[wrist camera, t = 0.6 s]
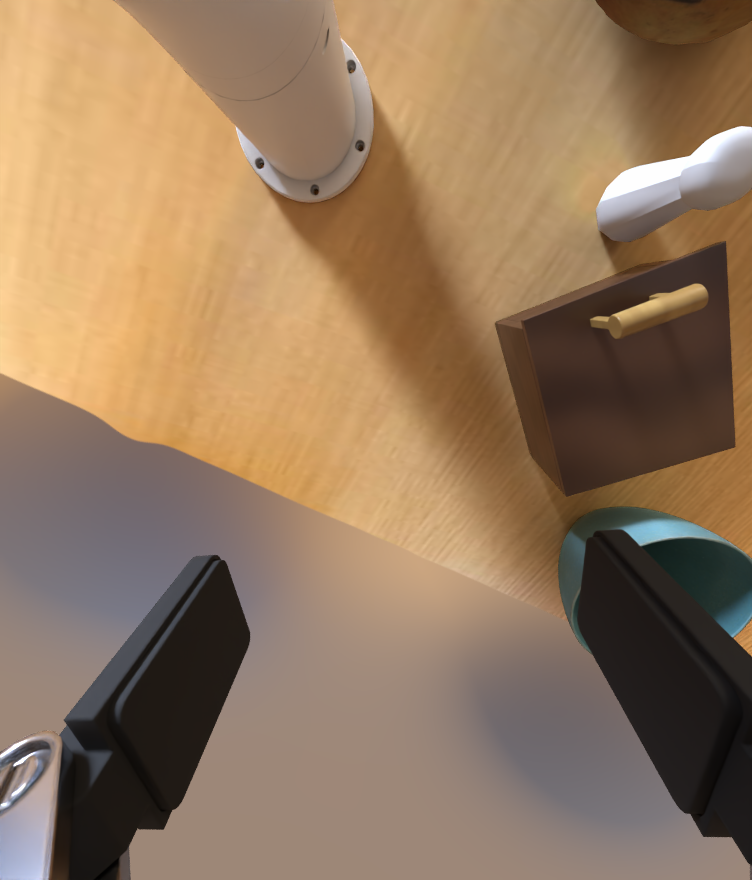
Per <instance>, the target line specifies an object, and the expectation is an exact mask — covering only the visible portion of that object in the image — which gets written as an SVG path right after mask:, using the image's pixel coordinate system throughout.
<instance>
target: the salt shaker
mask: <svg viewBox="0 0 752 880" xmlns="http://www.w3.org/2000/svg"><path fill="white" fill-rule="evenodd" d="M751 189H752V127H744V126H740V127H736V128H733V129H730V130H727V131H725V132H722V133H720V134H717V135H715V136H713V137H711V138H710V139H708V140H706V141H705V142H704V143H703V144H702V145H701V146H700V147H699V148H698V149H697V150H696V151H695V152H694V153H693V154H692V155H691V156H688V157H683V158H677V159H672V160H667V161H662V162H657V163H651V164H646V165H641V166H637V167H635V168H632V169H630V170H627V171H624V172H623V173H622V174H620V175H619V176H618V177H617V178H616V179H615V180H614V181H613V182H612V183H611V184H610V185H609V186H608V187H607V189H606V191H605V193H604V195H603V197H602V198H601V200H600V202H599V204H598V207H597V209H596V212H597V221H598V230H600V231H601V232H603V233H604V234H605V235H606V236H608V237H609V238H610V239H611V240H614V241H622V242H631V241H633V240H636V239H639V238H641V237H644V236H646V235H648V234H649V233H651V232H653V231H654V230H656V229H658V228H660V227H661V226H663V225H665V224H667V223H668V222H670V221H672V220H673V219H675V218H677V217H679V216H680V215H682V214H684V213H686V212H687V211H689V210H691V209H699V210H706V211H709V210H714V209H717V208H720V207H722V206H725V205H728V204H730V203H733V202H735V201H737V200H739V199H740V198H742V197H743V196H744V195H745V194H747V193H748V192H749V191H750V190H751Z"/></svg>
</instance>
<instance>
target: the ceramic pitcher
mask: <svg viewBox="0 0 752 880" xmlns="http://www.w3.org/2000/svg"><path fill="white" fill-rule="evenodd" d="M596 2H597V4H598V5H599V6H600V7H601V8H602V9H603V10H604V12H605V13H606V15H607V16H608V17H610V18H611V19H612V20H613V21H614V22H615V23H616V24H618V25H619V26H621V27H622V28H624V29H626V30H627V31H629V32H631V33H633V34H635V35H637V36H639V37H641V38H643V39H645V40H650V41H655V42H660V43H666V44H674V45H678V44H687V43H705V42H709V41H711V40H714V39H716V38H718V37H720V36H722V35H725V34H727V33H729V32H731V31H733V30H735V29H738V28H740V27H742V26H744V25H746V24H748V23H749V22H751V21H752V0H596Z"/></svg>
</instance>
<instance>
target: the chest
mask: <svg viewBox="0 0 752 880" xmlns="http://www.w3.org/2000/svg"><path fill="white" fill-rule="evenodd" d="M669 261H672V260H668V261H661V262H654V263H647V264H641V265H638V266H636V267H633V268H631V269H628V270H625V271H623V272H620V273H618V274H615V275H613V276H610V277H608V278H605V279H603V280H600V281H598V282H595V283H593V284H590V285H588V286H585V287H583V288H580V289H578V290H575V291H573V292H570V293H568V294H565V295H563V296H560V297H558V298H555V299H553V300H550V301H548V302H545V303H543V304H540V305H538V306H535V307H532V308H530V309H527V310H525V311H522V312H520V313H517V314H515V315H512V316H510V317H507V318H505V319H502V320H500V321H497V322H495V326H496V329H497V333H498V337H499V340H500V344H501V348H502V352H503V355H504V359H505V363H506V366H507V370H508V374H509V377H510V381H511V385H512V388H513V392H514V396H515V400H516V403H517V407H518V411H519V414H520V418H521V422H522V425H523V429H524V433H525V436H526V440H527V444H528V447H529V451H530V455H531V456H532V458H533V459H534V460H535V461H536V462H537V463H538V465H539V466H540V467H541V468H542V469H543V470H544V472H545V473H546V474H547V475H548V476H549V477H550V478H551V480H552V481H553V482H554V483H555V484H556V485H557V487H558V488H559V489H560V490H561V491H562V487H561V483H560V479H559V475H558V471H557V467H556V463H555V459H554V455H553V451H552V447H551V443H550V438H549V434H548V430H547V426H546V422H545V418H544V414H543V410H542V406H541V402H540V398H539V394H538V390H537V386H536V382H535V377H534V373H533V369H532V365H531V361H530V357H529V353H528V349H527V345H526V341H525V337H524V333H523V329H522V325H521V320H522V319H524V318H527V317H529V316H532V315H534V314H537V313H540V312H542V311H545V310H547V309H550V308H552V307H555V306H557V305H560V304H562V303H565V302H567V301H570V300H573V299H575V298H578V297H580V296H583V295H585V294H588V293H590V292H593V291H595V290H598V289H601V288H603V287H606V286H608V285H611V284H613V283H616V282H618V281H621V280H623V279H626V278H628V277H631V276H634V275H636V274H639V273H641V272H644V271H646V270H649V269H651V268H654V267H656V266H659V265H661V264H664V263H667V262H669ZM562 492H563V491H562Z"/></svg>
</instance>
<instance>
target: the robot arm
mask: <svg viewBox="0 0 752 880" xmlns="http://www.w3.org/2000/svg"><path fill="white" fill-rule="evenodd" d="M113 1H115V2H116V3H117V4H118V5H119V6H121V7H122V8H123V9H124V10H125V11H127V12H128V13H129V14H130V15H131V16H132V17H133V18H134V19H135V20H136V21H137V22H138V23H139V24H140V25H141V26H143V27H144V28H145V29H146V30H147V31H148V32H149V33H150V34H151V35H152V36H153V37H154V39H155V40H156V41H157V42H158V43H159V44H160V45H161V46H162V47H163V48H164V49H165V50H166V51H167V52H168V53H169V54H170V55H171V56H172V57H173V58H174V60H175V61H176V62H177V63H178V64H179V65H180V66H181V67H182V68H183V69H184V71H185V72H186V73H187V74H188V75H189V76H190V77H191V78H192V79H193V81H194V82H195V83H196V84H197V85H198V86H199V87H200V88H201V89H202V90H203V91H204V92H205V93H206V95H207V96H208V97H209V98H210V99H211V100H212V101H213V102H214V103H215V104H216V105H217V106H218V108H219V109H220V110H221V111H222V112H223V113H224V114H225V115H226V116H227V117H228V118H229V119H230V120H231V122H232V123H233V124H234V125H235V126H236V130H237V133H238V137H239V140H240V144H241V147H242V149H243V151H244V153H245V155H246V158H247V160H248V161H249V163H250V164H251V166H252V167H253V169H254V170H255V172H256V173H257V174H258V175H259V177H260V178H261V179H262V180H263V181H264V182H265V183H266V184H267V185H268V186H270V187H271V188H272V189H273V190H274V191H276V192H278V193H279V194H281V195H283V196H284V197H286V198H289V199H292V200H295V201H298V202H307V203H312V202H321V201H324V200H327V199H330V198H333V197H334V196H336V195H338V194H339V193H341V192H343V191H344V190H345V189H346V188H347V187H348V186H349V185H350V184H351V183H352V182H353V181H354V180H355V178H356V177H357V176H358V174H359V173H360V171H361V170H362V168H363V166H364V164H365V161H366V159H367V157H368V154H369V150H370V147H371V143H372V137H373V129H374V110H373V103H372V95H371V91H370V87H369V83H368V79H367V77H366V75H365V72H364V70H363V68H362V66H361V63H360V62H359V60H358V59H357V57H356V56H355V54H354V52H353V51H352V49H351V48H350V47H349V46H348V45H347V44H346V43H345V42H344V41H343V40H342V39H341V35H340V30H339V26H338V21H337V16H336V11H335V6H334V2H333V0H113ZM350 70H354V71H355V72H354V73H349V72H350ZM359 147H363V151H361V152H359V151H358V148H359ZM261 164H264V167H263V168H262V169H261ZM315 190H318V191H319V193H318V194H317V195H315V194H314V191H315ZM577 621H578V626H579V630H580V632H581V634H582V636H583V638H584V640H585V642H586V644H587V645H588V647H589V649H590V651H591V653H592V654H593V656H594V658H595V660H596V662H597V663H598V665H599V667H600V669H601V670H602V672H603V674H604V676H605V678H606V679H607V681H608V683H609V685H610V687H611V688H612V690H613V692H614V694H615V696H616V697H617V699H618V701H619V703H620V704H621V706H622V708H623V710H624V712H625V714H626V715H627V717H628V719H629V721H630V723H631V724H632V726H633V728H634V730H635V732H636V733H637V735H638V737H639V739H640V741H641V742H642V744H643V746H644V748H645V750H646V751H647V753H648V755H649V757H650V759H651V760H652V762H653V764H654V766H655V768H656V769H657V771H658V773H659V775H660V777H661V778H662V780H663V782H664V784H665V786H666V787H667V789H668V791H669V793H670V795H671V796H672V798H673V800H674V801H675V803H676V804H677V806H678V807H679V808H680V809H681V810H682V811H683V812H684V813H687V814H691V816H692V818H693V820H694V821H695V823H696V825H697V826H698V828H699V830H700V832H701V834H702V835H703V837H732V838H733V840H734V841H735V843H736V844H737V846H738V848H739V849H740V851H741V852H742V854H743V856H744V857H745V859H746V860H747V862H748V863H749V864H750V880H752V657H751V656H750V655H749V654H748V653H747V652H746V651H745V650H744V649H743V648H742V647H741V646H740V645H739V644H738V643H737V642H736V641H735V640H734V639H733V638H732V637H731V636H730V635H729V634H728V633H727V632H726V631H725V630H724V629H723V628H722V627H721V626H720V625H719V624H718V623H717V622H716V621H715V620H714V619H713V618H712V617H711V616H710V615H709V614H708V613H707V612H706V611H705V610H704V609H703V608H702V607H701V606H700V605H699V604H698V603H697V602H696V601H695V600H694V599H693V598H692V597H691V596H690V595H689V594H688V593H687V592H686V591H685V590H684V589H683V588H682V587H681V586H680V585H679V584H678V583H677V582H676V581H675V580H674V579H673V578H672V577H671V576H670V575H669V574H668V573H667V572H666V571H665V570H664V569H663V568H662V567H661V566H660V565H659V564H658V563H657V562H656V561H655V560H654V559H653V558H652V557H651V556H650V555H649V554H648V553H647V552H646V551H645V550H644V549H643V548H642V547H641V546H640V545H639V544H638V543H637V542H636V541H635V540H634V539H633V538H632V537H631V536H630V535H629V534H628V533H627V532H626V531H624V530H622V529H615V530H599V531H595V532H594V534H593V537H589V538H588V539H587V541H586V547H585V556H584V564H583V573H582V581H581V590H580V598H579V607H578V615H577ZM249 642H250V631H249V628H248V625H247V622H246V619H245V616H244V613H243V610H242V607H241V605H240V601H239V598H238V596H237V593H236V590H235V587H234V584H233V581H232V578H231V575H230V572H229V569H228V566H227V564H226V562H225V561H224V560H221V559H220V557H219V556H218V555H208V556H196V557H193V558H192V559H191V560H190V562H189V563H188V564H187V565H186V567H185V568H184V569H183V570H182V572H181V573H180V574H179V575H178V577H177V578H176V579H175V580H174V582H173V583H172V584H171V585H170V587H169V588H168V589H167V591H166V592H165V593H164V594H163V596H162V597H161V598H160V599H159V601H158V602H157V603H156V604H155V606H154V607H153V608H152V609H151V611H150V612H149V613H148V615H147V616H146V617H145V619H143V621H142V622H141V623H140V625H139V626H138V627H137V628H136V630H135V631H134V632H133V633H132V635H131V636H130V637H129V638H128V640H127V641H126V642H125V643H124V645H123V646H122V647H121V648H120V650H119V651H118V652H117V653H116V655H115V656H114V657H113V658H112V660H111V661H110V662H109V664H108V665H107V666H106V667H105V669H104V670H103V671H102V672H101V674H100V675H99V676H98V677H97V679H96V680H95V681H94V682H93V684H92V685H91V686H90V688H89V689H88V690H87V691H86V692H85V694H84V695H83V696H82V698H81V699H80V700H79V701H78V703H77V704H76V705H75V706H74V708H73V709H72V710H71V711H70V713H69V714H68V715H67V716H66V718H65V719H64V721H65V722H66V724H67V726H66V727H65V728H64V730H63V731H62V732H61V734H60V735H58V734H57V733H55V732H54V731H42V732H38V733H34V734H31V735H29V736H27V737H24V738H22V739H20V740H18V741H16V742H15V743H13V744H12V745H10V746H9V747H7V748H6V749H4V750H3V751H1V752H0V880H131V878H130V857H129V845H130V843H131V841H132V839H133V836H134V835H135V832H136V830H137V828H138V829H157V830H158V829H159V830H160V829H161V830H163V829H164V828H165V826H166V823H167V821H168V819H169V816H170V814H171V812H172V810H174V809H176V808H177V807H178V806H179V805H180V803H181V802H182V800H183V798H184V796H185V794H186V791H187V789H188V786H189V784H190V782H191V780H192V777H193V775H194V773H195V770H196V768H197V766H198V763H199V761H200V759H201V756H202V754H203V752H204V749H205V747H206V745H207V742H208V740H209V738H210V735H211V733H212V731H213V728H214V726H215V724H216V721H217V719H218V716H219V714H220V712H221V710H222V707H223V705H224V702H225V700H226V698H227V696H228V693H229V691H230V689H231V686H232V684H233V682H234V679H235V677H236V675H237V672H238V670H239V668H240V665H241V663H242V660H243V658H244V656H245V653H246V651H247V649H248V646H249Z"/></svg>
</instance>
